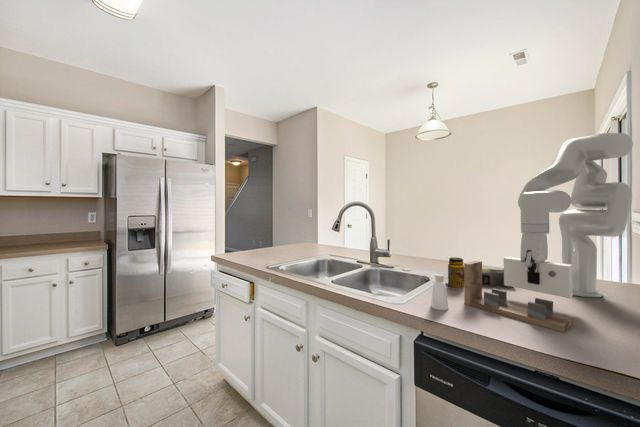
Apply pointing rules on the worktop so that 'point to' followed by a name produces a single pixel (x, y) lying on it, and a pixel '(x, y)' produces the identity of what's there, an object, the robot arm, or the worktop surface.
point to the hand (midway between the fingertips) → (535, 281)
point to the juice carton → (493, 277)
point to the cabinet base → (497, 303)
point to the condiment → (455, 273)
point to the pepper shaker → (439, 293)
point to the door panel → (551, 277)
